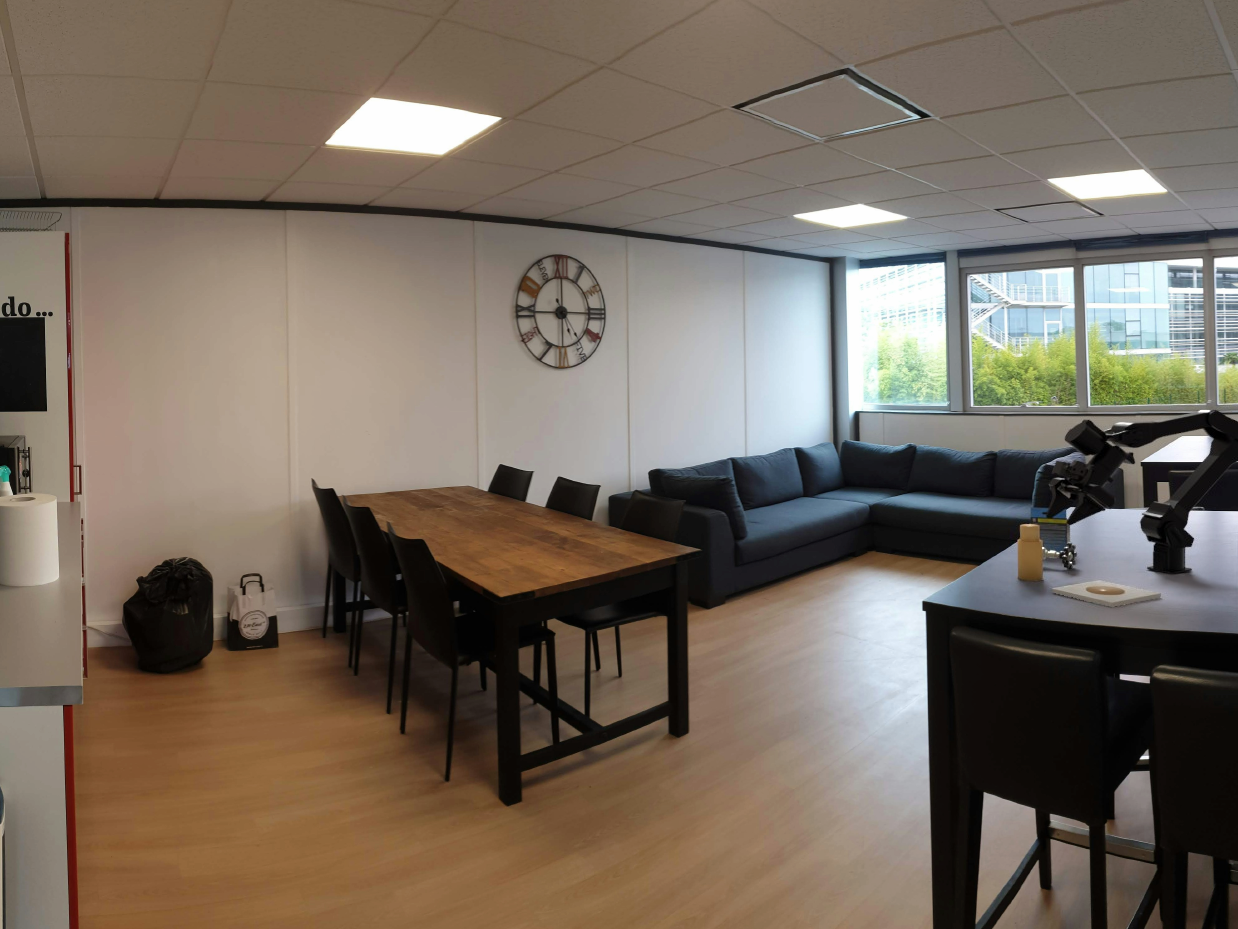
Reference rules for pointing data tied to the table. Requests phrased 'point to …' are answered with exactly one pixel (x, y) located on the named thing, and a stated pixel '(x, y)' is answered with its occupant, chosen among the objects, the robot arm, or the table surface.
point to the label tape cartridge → (1051, 529)
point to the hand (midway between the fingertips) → (1057, 521)
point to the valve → (1063, 555)
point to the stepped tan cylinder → (1030, 553)
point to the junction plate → (1106, 593)
